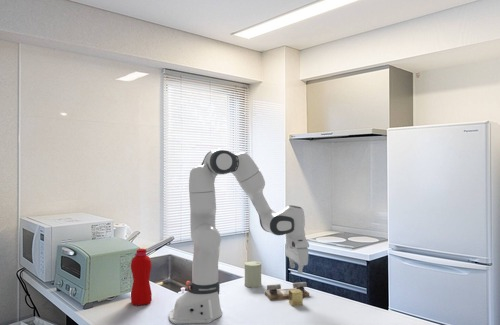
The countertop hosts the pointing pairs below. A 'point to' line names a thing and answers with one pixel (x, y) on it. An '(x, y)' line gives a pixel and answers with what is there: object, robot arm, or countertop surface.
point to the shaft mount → (284, 291)
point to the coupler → (296, 297)
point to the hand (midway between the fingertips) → (296, 270)
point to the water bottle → (141, 278)
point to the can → (252, 274)
